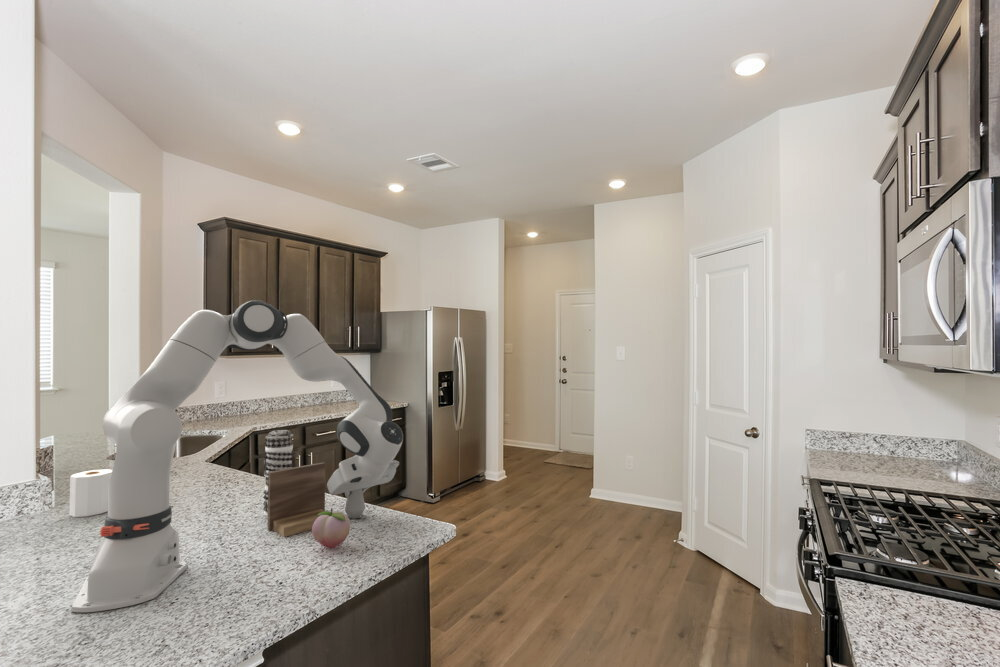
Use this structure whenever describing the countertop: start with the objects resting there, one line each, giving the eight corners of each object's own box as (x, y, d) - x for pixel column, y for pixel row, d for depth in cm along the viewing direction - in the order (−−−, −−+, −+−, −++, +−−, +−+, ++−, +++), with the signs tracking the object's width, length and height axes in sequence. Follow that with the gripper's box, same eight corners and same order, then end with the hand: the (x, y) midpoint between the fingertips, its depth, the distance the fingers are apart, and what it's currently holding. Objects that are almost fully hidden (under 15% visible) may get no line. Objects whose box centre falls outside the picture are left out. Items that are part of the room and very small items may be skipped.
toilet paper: (69, 511, 150) (70, 472, 151) (111, 504, 157) (112, 467, 158) (69, 519, 143) (70, 479, 143) (113, 511, 150) (114, 473, 150)
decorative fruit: (357, 543, 124) (357, 504, 124) (338, 556, 116) (338, 515, 116) (326, 539, 127) (326, 501, 127) (305, 552, 119) (306, 511, 119)
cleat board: (336, 522, 139) (336, 467, 140) (280, 538, 128) (280, 477, 128) (322, 515, 145) (322, 462, 146) (267, 529, 134) (268, 472, 134)
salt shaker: (367, 513, 147) (368, 470, 147) (360, 519, 141) (361, 475, 142) (349, 512, 148) (350, 470, 148) (341, 519, 142) (342, 474, 142)
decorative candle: (255, 515, 145) (256, 433, 146) (276, 506, 154) (276, 428, 155) (280, 518, 143) (281, 434, 144) (300, 508, 152) (301, 429, 153)
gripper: (397, 451, 148) (379, 477, 154) (334, 462, 133) (318, 491, 139) (405, 468, 144) (387, 494, 151) (342, 481, 130) (325, 510, 136)
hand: (353, 492), depth 145 cm, fingers closed on salt shaker, 3 cm apart
